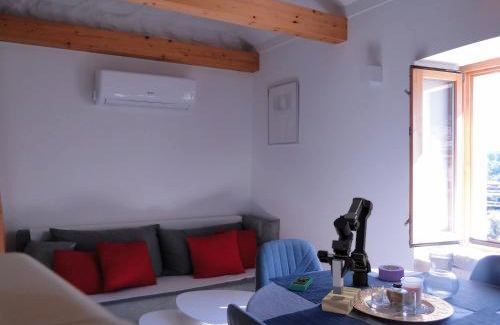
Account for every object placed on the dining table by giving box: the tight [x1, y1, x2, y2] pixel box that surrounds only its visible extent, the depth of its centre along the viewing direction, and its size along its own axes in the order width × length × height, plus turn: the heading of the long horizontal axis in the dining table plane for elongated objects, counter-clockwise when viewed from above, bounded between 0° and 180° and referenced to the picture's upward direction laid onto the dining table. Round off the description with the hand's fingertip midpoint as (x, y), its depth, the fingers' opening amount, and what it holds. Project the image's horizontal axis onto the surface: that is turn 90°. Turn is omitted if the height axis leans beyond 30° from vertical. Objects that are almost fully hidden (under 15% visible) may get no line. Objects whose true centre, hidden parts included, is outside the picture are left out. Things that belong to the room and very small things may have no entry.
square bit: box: [332, 259, 344, 295], centre depth 164 cm, size 3×3×13 cm
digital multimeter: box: [288, 276, 314, 292], centre depth 194 cm, size 7×15×3 cm, turn 157°
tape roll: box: [378, 264, 405, 282], centre depth 204 cm, size 12×12×5 cm
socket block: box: [321, 286, 362, 315], centre depth 168 cm, size 20×10×4 cm, turn 151°
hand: (336, 277), depth 163 cm, fingers closed on square bit, 3 cm apart
